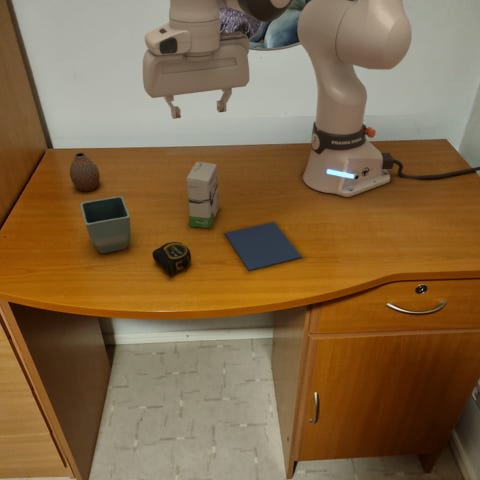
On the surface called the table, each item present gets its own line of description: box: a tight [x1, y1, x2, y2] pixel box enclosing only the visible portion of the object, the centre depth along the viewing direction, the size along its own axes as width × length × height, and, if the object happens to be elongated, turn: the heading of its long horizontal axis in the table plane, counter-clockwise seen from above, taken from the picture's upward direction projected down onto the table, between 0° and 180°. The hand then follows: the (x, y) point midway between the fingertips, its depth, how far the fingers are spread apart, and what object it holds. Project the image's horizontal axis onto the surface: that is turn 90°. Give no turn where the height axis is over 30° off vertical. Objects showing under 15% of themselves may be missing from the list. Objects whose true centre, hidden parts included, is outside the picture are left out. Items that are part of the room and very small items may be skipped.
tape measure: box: [152, 241, 192, 276], centre depth 98 cm, size 7×7×4 cm
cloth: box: [224, 221, 303, 272], centre depth 104 cm, size 12×14×1 cm
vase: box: [69, 151, 101, 192], centre depth 118 cm, size 7×7×9 cm
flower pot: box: [79, 195, 131, 254], centre depth 101 cm, size 9×9×9 cm
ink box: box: [186, 161, 219, 229], centre depth 108 cm, size 9×5×12 cm, turn 168°
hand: (199, 114), depth 95 cm, fingers open, 8 cm apart
